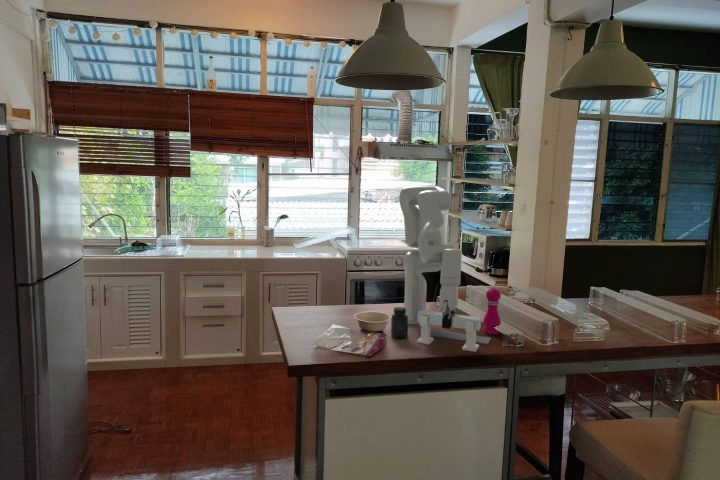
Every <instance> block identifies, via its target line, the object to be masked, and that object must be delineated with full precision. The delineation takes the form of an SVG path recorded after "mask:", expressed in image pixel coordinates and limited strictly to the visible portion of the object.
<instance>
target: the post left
mask: <svg viewBox="0 0 720 480" xmlns="http://www.w3.org/2000/svg"><path fill="white" fill-rule="evenodd" d="M419 326H420V332H421V335H420V337H419V338H418V339H417V340H416V343H417V344H422V343H423V344H424V345H430V344H432V343H433V342H434V340H435V337H431V336H430V332H431V329H432V324H428V316H420V325H419Z"/></svg>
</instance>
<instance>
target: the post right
mask: <svg viewBox="0 0 720 480" xmlns="http://www.w3.org/2000/svg"><path fill="white" fill-rule="evenodd" d="M465 334H466V342H464V345H463V346H461V347H462V349H461V350H462V351H467V350H468V352H473V351H474V352H475V353H476V352H477V351H478V349H479V348H480V344H477V343H476V336H477V330H474V323H472V322H466V329H465Z"/></svg>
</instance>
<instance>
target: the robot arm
mask: <svg viewBox="0 0 720 480" xmlns="http://www.w3.org/2000/svg"><path fill="white" fill-rule="evenodd" d="M452 200H453V199H452V196H451V194H450V193H449V191H447V190H446V189H444V188H442V187H439V186H438V185H436V186H435V185H408V186H405V187H403V188H402V189H401V190H400V192H399V205H400V208H401V212H402V215H403V223H404V224H403V225H404V237H405V238H404V239H405V243H406V246H407V247H409V248H415V249H416V248H417V249H418V250H412V251H408V252H406V253H405V254H404V256H403V268H404V304H403V305H404V306H403V308H406V313H405V314H406V315H407V316H408V325H418V326H420V322H417V314H418V311H420V310H427V309H426V307H427V306H426V305H427V280H426V278H425V276H424V275H423V273H430V272H431V273H435V272H439V271H440V280H439V283H440V285H441V287H440V293H439V294H440V295H439V306H438V309H439V310H440V311H441V312H442V313H443V314H442V325H441V328H442V329H446V330H450V329H451V327H450V326H451V318H450V314H456V308H457V307H458V300H459V286H460V285H461V277H462V276H461V274H462V255H463V254H462V250H461V249H460V248H457V247H455V246H454V245H453V244H443V241H442V240H443V239H442V234H441V231H440V229H441V228H442V227H443V225H444V223H445V219H444V216H443V212H442V211H449V210H450V209H451V207H452V205H453V203H452V202H453V201H452ZM417 206H418V207H417Z"/></svg>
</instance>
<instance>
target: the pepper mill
mask: <svg viewBox="0 0 720 480" xmlns="http://www.w3.org/2000/svg"><path fill="white" fill-rule="evenodd" d="M501 296H502V294H501V292H500V290H498V289H497V287H496V285H494V284H493V285H492V286H491V288H489V289H488V290H487V291H486V292H485V297H486V299H487V300H486V304H487V310H486V313H485V314H484V316H483V320H482V323H483V325H484V327H483V332H484V333H485V334H488V335H498V334H499V333H500V331H499V332H498V331H497V330H496V329H495V328H494V327H496V326H499V325H501V324H502V323H501V317H500V314H499V312H498V311H499V310H498V307H499V304H500V301H499V300H500V299H501ZM499 327H500V326H499Z"/></svg>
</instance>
